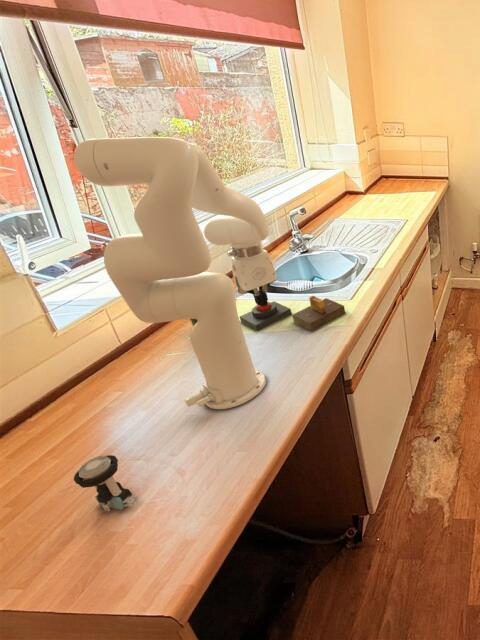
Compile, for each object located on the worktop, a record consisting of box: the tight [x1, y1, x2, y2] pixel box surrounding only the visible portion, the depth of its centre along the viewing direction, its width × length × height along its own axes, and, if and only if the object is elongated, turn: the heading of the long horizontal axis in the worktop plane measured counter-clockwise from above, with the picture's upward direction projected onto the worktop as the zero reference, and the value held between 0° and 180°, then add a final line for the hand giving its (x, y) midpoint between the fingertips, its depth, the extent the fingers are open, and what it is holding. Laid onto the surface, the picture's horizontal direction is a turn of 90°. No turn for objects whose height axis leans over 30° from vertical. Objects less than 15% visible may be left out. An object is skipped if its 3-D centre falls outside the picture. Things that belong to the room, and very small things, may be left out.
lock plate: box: [292, 298, 346, 332], centre depth 126 cm, size 12×9×3 cm
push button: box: [73, 454, 138, 512], centre depth 69 cm, size 7×5×10 cm
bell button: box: [255, 300, 271, 311], centre depth 124 cm, size 4×4×2 cm
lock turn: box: [309, 295, 325, 313], centre depth 125 cm, size 5×1×4 cm, turn 59°
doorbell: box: [239, 301, 293, 332], centre depth 125 cm, size 11×9×4 cm
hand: (262, 304), depth 124 cm, fingers closed
